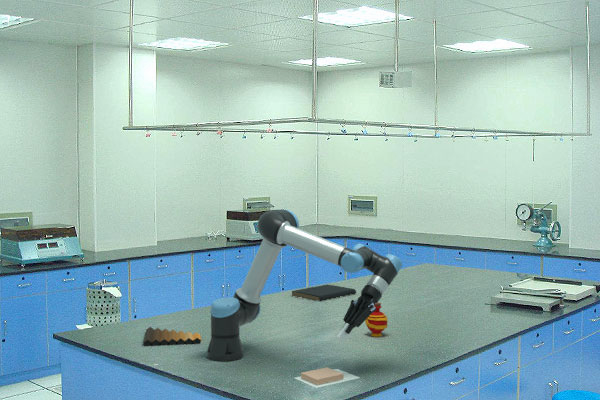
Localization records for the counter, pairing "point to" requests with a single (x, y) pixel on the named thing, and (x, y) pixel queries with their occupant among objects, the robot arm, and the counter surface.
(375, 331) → the potion bottle
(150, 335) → the pan flute
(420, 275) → the counter surface
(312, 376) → the terracotta tile
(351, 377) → the white rectangular board
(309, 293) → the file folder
